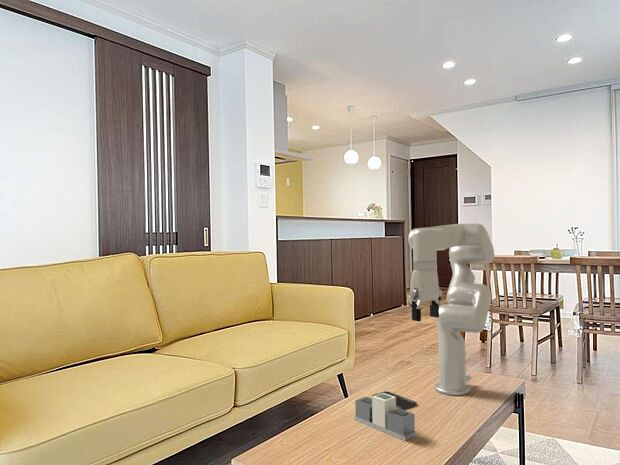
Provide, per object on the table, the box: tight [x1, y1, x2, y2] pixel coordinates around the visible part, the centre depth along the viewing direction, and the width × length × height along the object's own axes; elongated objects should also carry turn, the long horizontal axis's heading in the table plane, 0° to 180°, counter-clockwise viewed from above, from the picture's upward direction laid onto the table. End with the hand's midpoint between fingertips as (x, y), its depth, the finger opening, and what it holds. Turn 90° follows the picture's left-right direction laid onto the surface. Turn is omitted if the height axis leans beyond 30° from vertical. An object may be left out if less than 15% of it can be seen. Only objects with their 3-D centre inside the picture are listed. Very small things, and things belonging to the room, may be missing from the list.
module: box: [371, 392, 397, 428], centre depth 140 cm, size 5×5×8 cm
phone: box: [372, 391, 418, 411], centre depth 161 cm, size 8×1×15 cm
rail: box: [354, 396, 417, 442], centre depth 140 cm, size 5×20×6 cm, turn 40°
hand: (425, 318), depth 152 cm, fingers open, 9 cm apart
